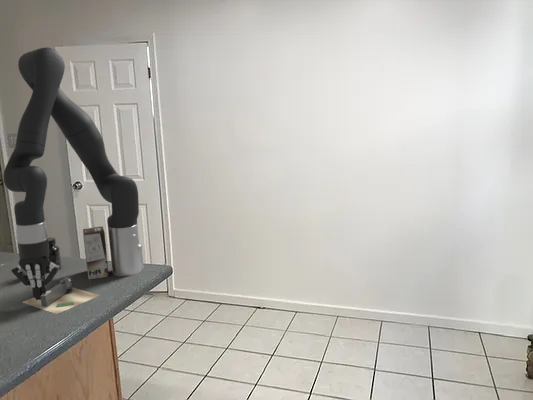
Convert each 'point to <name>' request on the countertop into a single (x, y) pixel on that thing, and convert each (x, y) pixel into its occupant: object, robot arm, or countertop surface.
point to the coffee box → (95, 252)
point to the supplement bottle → (54, 253)
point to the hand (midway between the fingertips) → (39, 298)
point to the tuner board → (64, 301)
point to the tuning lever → (56, 291)
